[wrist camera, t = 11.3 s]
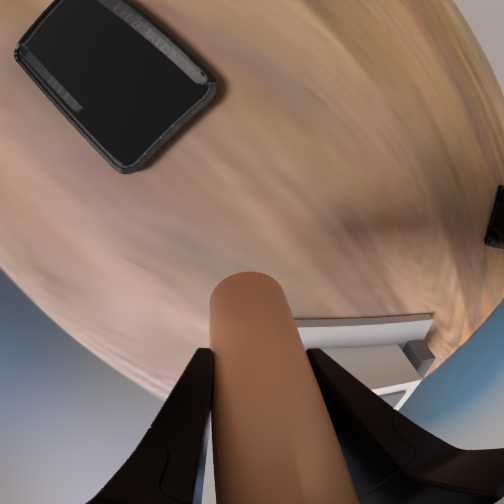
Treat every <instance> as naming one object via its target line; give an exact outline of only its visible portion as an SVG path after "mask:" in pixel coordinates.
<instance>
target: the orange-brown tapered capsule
mask: <svg viewBox="0 0 504 504" xmlns="http://www.w3.org/2000/svg"><path fill="white" fill-rule="evenodd" d="M210 349H211V350H212V371H213V381H212V398H211V426H212V444H213V464H214V479H215V491H216V504H360V502H359V499H358V496H357V493H356V490H355V487H354V484H353V482H352V479H351V476H350V473H349V470H348V467H347V464H346V461H345V458H344V456H343V453H342V450H341V447H340V444H339V441H338V438H337V436H336V433H335V430H334V427H333V424H332V422H331V419H330V416H329V413H328V410H327V408H326V405H325V402H324V399H323V397H322V394H321V391H320V388H319V386H318V383H317V380H316V377H315V375H314V372H313V369H312V367H311V364H310V361H309V358H308V356H307V353H306V350H305V348H304V345H303V342H302V340H301V337H300V334H299V332H298V329H297V326H296V324H295V321H294V318H293V316H292V313H291V310H290V308H289V305H288V302H287V300H286V297H285V295H284V292H283V290H282V288H281V286H280V285H279V283H278V282H277V281H276V280H274V279H273V278H271V277H270V276H268V275H266V274H262V273H258V272H242V273H237V274H234V275H232V276H229V277H228V278H226V279H224V280H223V281H222V282H220V283H219V284H218V285H217V287H216V288H215V289H214V291H213V293H212V295H211V298H210Z"/></svg>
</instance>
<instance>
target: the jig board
mask: <svg viewBox="0 0 504 504" xmlns="http://www.w3.org/2000/svg"><path fill="white" fill-rule="evenodd" d="M433 320H434V319H433V318H432V316H431V315H430V314H420V315H407V316H393V317H376V318H353V319H302V320H294V321H295V324H296V326H297V329H298V332H299V334H300V337H301V340H302V342H303V345H304V348H305V349H308V348H320V349H328V348H352V347H369V346H382V345H393V344H397V345H398V346H399V347H400V349H401V350H402V351H403V353H404V354H405V356H406V357H407V358H408V360H409V361H410V363H411V364H412V366H413V367H414V368H415V370H416V371H417V373H418V374H419V376H420V377H421V379H422V378H423V377H424V375H425V374H426V372H427V371H428V369H429V368H430V366H431V364H432V363H433V361H434V360H435V356H434V355H433V354H432V352H431V351H430V350H429V349H428V347H427V346H426V345H425V344H424V342H423V340H424V338H425V336H426V334H427V332H428V330H429V328H430V326H431V324H432V322H433Z"/></svg>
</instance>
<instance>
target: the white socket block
mask: <svg viewBox="0 0 504 504" xmlns="http://www.w3.org/2000/svg"><path fill="white" fill-rule="evenodd" d="M305 350H307V349H305ZM321 350H323V351H324V352H325V353H326V354H327V355H329V356H330V357H331V358H332V359H333V360H335V361H336V362H337V363H338V364H340V365H341V366H342V367H343V368H344V369H346V370H347V371H348V372H349V373H351V374H352V375H353V376H354V377H356V378H357V379H358V380H359V381H361V382H362V383H363V384H364V385H365V386H367V387H368V388H369V389H370V390H372V391H373V392H374V393H376V394H377V395H378V396H379V397H381V398H382V399H383V400H384V401H386V402H387V403H388V404H389V405H391V406H392V407H393V408H394V409H396V410H397V411H398V410H399V409H400V408H401V406H402V405H403V404H404V402H405V401H406V400H407V399H408V398H409V396H410V395H411V394H412V392H413V391H414V390H415V388H416V387H417V386H418V384H419V383H420V382H421V380H422V379H421V377H420V376H419V374H418V373H417V371H416V370H415V368H414V367H413V366H412V364H411V363H410V361H409V360H408V358H407V357H406V356H405V354H404V353H403V351H402V350H401V349H400V347H399V346H398V345H397V344H393V345H382V346H369V347H352V348H328V349H321Z"/></svg>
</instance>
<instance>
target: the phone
mask: <svg viewBox="0 0 504 504" xmlns="http://www.w3.org/2000/svg"><path fill="white" fill-rule="evenodd" d="M14 58H15V60H16V61H17V63H18V64H19V65H20V66H21V67H22V69H23V70H24V71H25V72H26V73H27V74H28V76H29V77H30V78H31V79H32V80H33V81H34V83H35V84H36V85H37V86H38V87H39V88H40V90H41V91H42V92H43V93H44V94H45V95H46V96H47V98H48V99H49V100H50V101H51V102H52V103H53V104H54V105H55V107H56V108H57V109H58V110H59V111H60V112H61V113H62V114H63V115H64V117H65V118H66V119H67V120H68V121H69V122H70V123H71V124H72V125H73V126H74V127H75V129H76V130H77V131H78V132H79V133H80V134H81V135H82V136H83V137H84V138H85V139H86V140H87V141H88V142H89V144H90V145H91V146H92V147H93V148H94V149H95V150H96V151H97V152H98V153H99V154H100V155H101V156H102V157H103V158H104V159H105V160H106V161H107V162H108V163H109V164H110V165H111V167H112V168H113V169H114V170H116V171H117V172H119V173H121V174H131V173H134V172H136V171H138V170H140V169H141V168H142V167H143V166H144V165H145V164H146V163H147V162H148V160H149V159H151V158H152V157H153V156H154V155H155V154H156V153H157V152H158V151H159V150H160V149H161V148H162V147H163V146H164V145H165V144H166V143H167V142H168V141H169V140H170V139H171V138H172V137H173V136H174V135H175V134H176V133H177V132H178V131H179V130H180V129H182V128H183V127H184V126H185V125H186V124H187V123H188V122H189V121H190V120H191V119H192V118H194V117H195V116H196V115H197V114H198V113H199V112H200V111H202V110H203V109H204V108H205V107H206V106H207V105H208V104H210V103H211V102H212V100H213V99H214V98H215V95H216V93H217V84H216V80H215V78H214V77H213V76H212V74H211V73H210V72H209V71H208V70H207V69H206V68H205V67H204V66H203V65H202V64H200V63H199V62H198V61H197V60H196V59H195V58H194V57H193V56H192V55H191V54H190V53H189V52H188V51H187V50H186V49H185V48H183V47H182V46H181V45H180V44H179V43H178V42H177V41H176V40H175V39H174V38H172V37H171V36H170V35H169V34H168V33H167V32H166V31H164V30H163V29H162V28H161V27H160V26H159V25H157V24H156V23H155V22H154V21H153V20H151V19H150V18H149V17H148V16H147V15H145V14H144V13H143V12H142V11H140V10H139V9H138V8H137V7H135V6H134V5H133V4H131V3H130V2H129V1H128V0H54V1H53V2H52V3H51V4H50V5H49V6H48V8H47V9H46V10H45V11H44V12H43V13H42V14H41V15H40V16H39V17H38V19H37V20H36V21H35V22H34V23H33V24H32V26H31V27H30V28H29V29H28V30H27V32H26V33H25V34H24V35H23V37H22V38H21V39H20V41H19V42H18V44H17V45H16V48H15V51H14Z"/></svg>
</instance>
